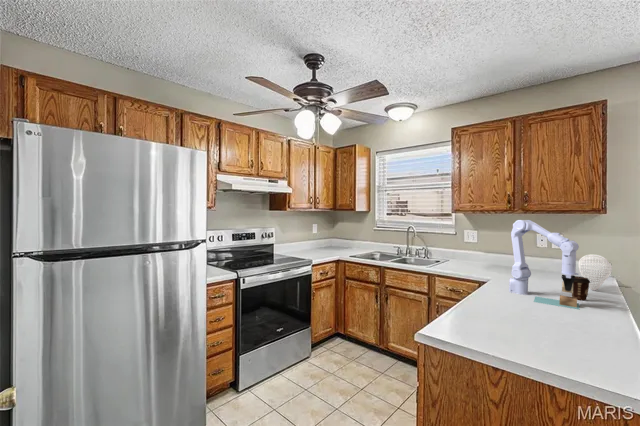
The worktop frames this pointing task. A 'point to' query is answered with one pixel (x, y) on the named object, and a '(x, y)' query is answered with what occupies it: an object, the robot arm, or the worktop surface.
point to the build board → (552, 302)
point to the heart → (603, 260)
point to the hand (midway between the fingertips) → (567, 289)
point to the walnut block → (568, 301)
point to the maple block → (565, 290)
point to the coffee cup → (580, 288)
